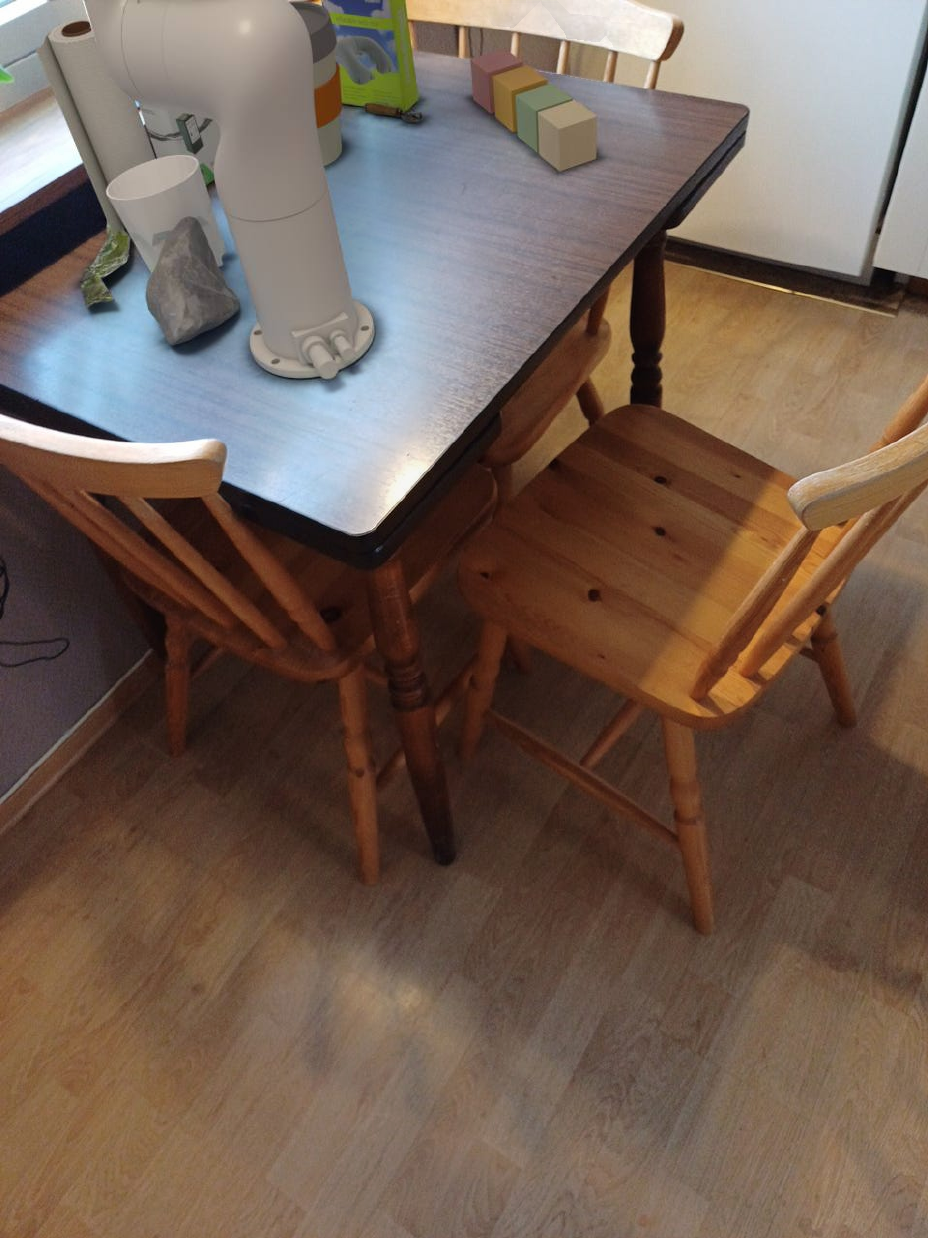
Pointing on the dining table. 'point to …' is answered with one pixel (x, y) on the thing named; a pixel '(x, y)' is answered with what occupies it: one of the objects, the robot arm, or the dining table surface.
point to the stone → (188, 285)
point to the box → (374, 52)
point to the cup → (163, 204)
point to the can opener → (393, 112)
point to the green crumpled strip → (105, 267)
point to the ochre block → (513, 92)
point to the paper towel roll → (94, 109)
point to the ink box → (183, 136)
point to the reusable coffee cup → (324, 78)
